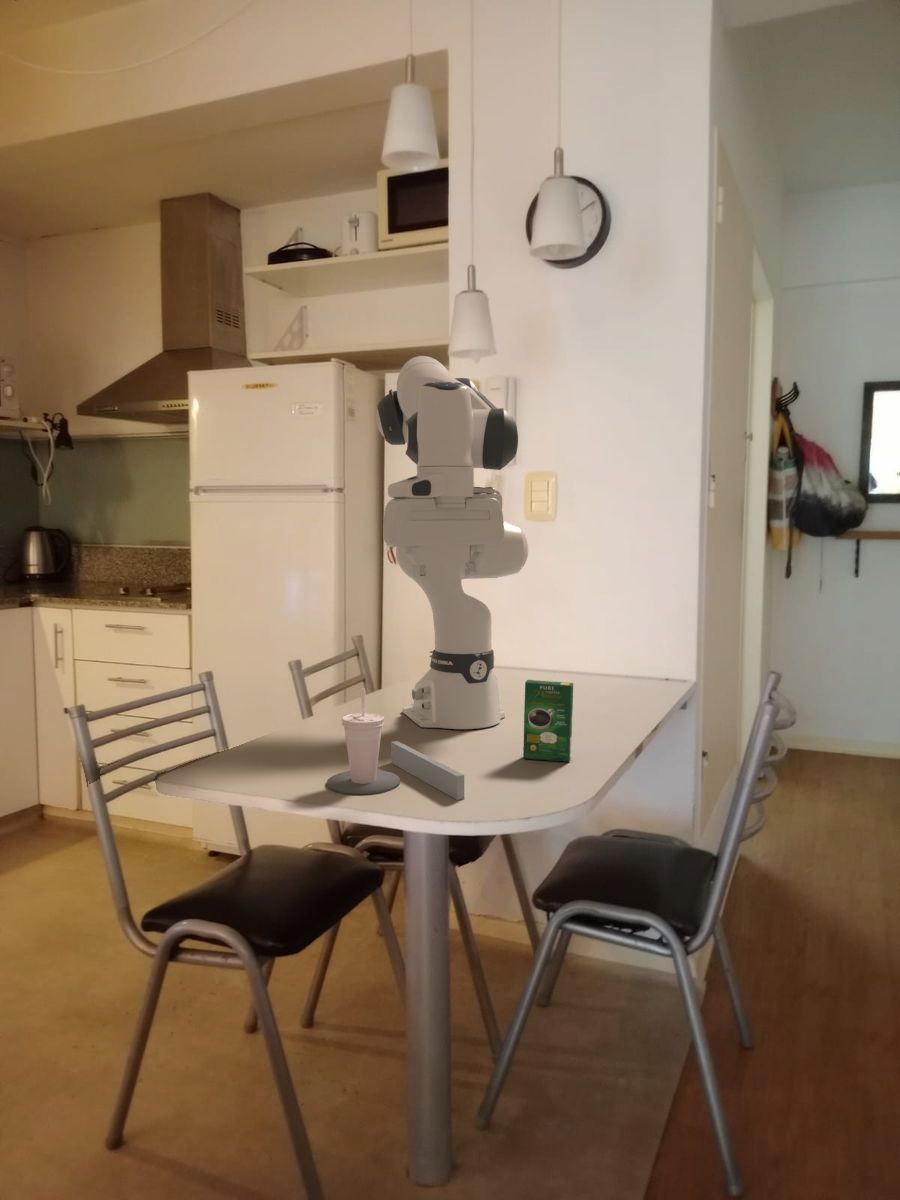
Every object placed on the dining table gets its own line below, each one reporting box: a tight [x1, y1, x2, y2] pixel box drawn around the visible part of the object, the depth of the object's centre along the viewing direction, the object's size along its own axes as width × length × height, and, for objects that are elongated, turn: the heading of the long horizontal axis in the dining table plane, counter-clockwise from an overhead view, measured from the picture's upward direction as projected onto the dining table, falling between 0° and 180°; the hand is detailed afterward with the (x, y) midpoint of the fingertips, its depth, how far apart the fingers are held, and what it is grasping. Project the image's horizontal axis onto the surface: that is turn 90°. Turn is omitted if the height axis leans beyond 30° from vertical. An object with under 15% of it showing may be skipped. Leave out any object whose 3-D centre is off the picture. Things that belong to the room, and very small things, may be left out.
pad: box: [326, 769, 401, 796], centre depth 137 cm, size 11×11×1 cm
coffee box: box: [522, 679, 574, 763], centre depth 149 cm, size 8×3×13 cm, turn 75°
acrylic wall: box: [390, 740, 465, 801], centre depth 138 cm, size 22×1×4 cm, turn 29°
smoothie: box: [341, 687, 385, 784], centre depth 136 cm, size 6×6×14 cm
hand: (445, 574), depth 142 cm, fingers open, 8 cm apart
